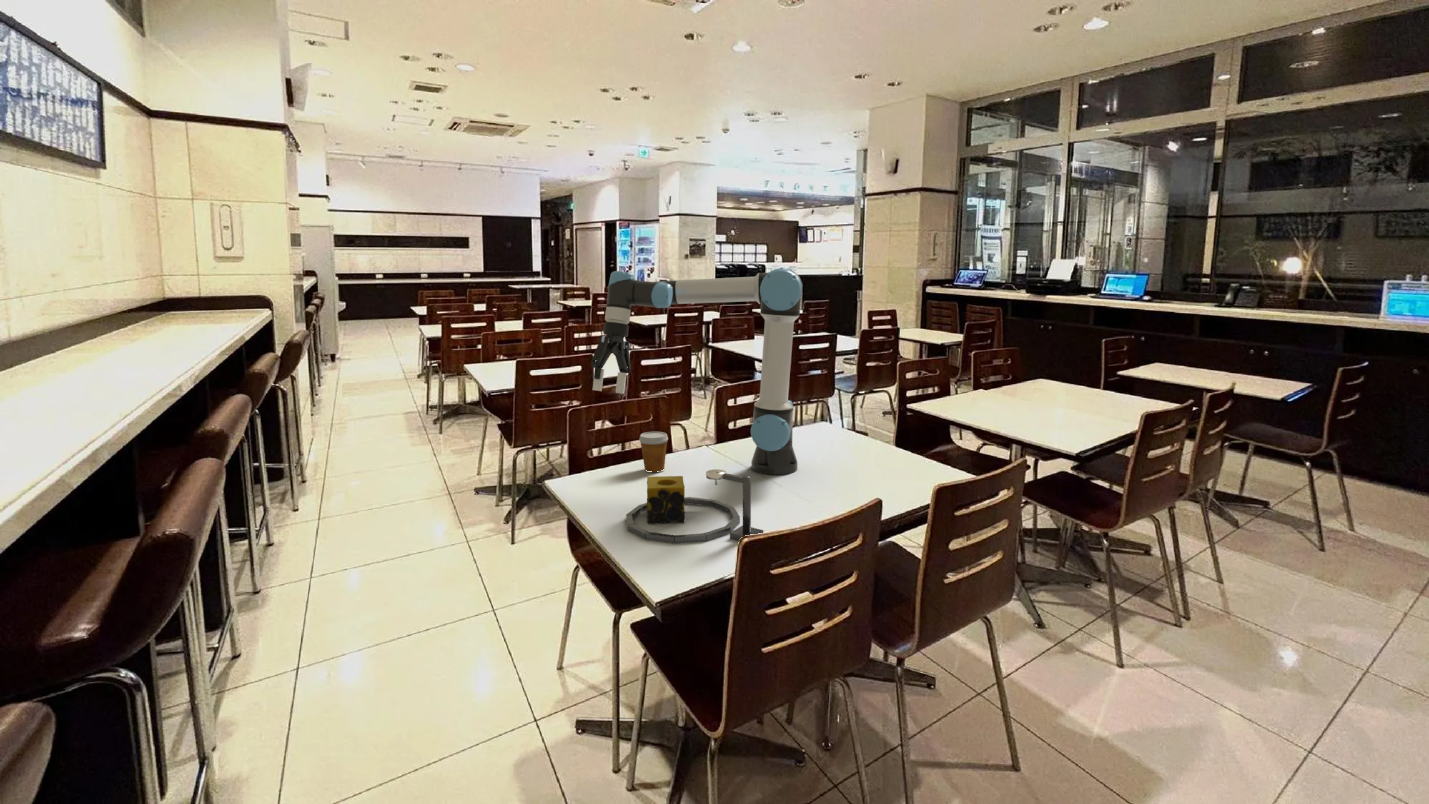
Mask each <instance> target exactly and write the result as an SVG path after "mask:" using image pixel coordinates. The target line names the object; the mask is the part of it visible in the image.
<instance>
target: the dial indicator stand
mask: <svg viewBox="0 0 1429 804" xmlns="http://www.w3.org/2000/svg"><path fill="white" fill-rule="evenodd" d="M705 477H706V479H708V480H711V481H714V485H715V486H717V485H718V481H720V480H726V481H729V482H730V481H731V482H734V483H735V482H736V483H740V484H742V525H741V526H739V527H738V528H737V527H736V528H735V529H734V530H733V531H732V532H730V534H729V539H730V540H734V541H738V540H739V539H740V538H741V537H744V536H745V535H750V534H758V533H763V532H765V531H764V530H765V529H764V530H763V529H759V528H756V527H752V510H751V509H752V477H751V475H737V474H732V473H727V471H726V470H723V469H716V468H715V469H709V470H707V471H705ZM738 542H739V541H738Z"/></svg>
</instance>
